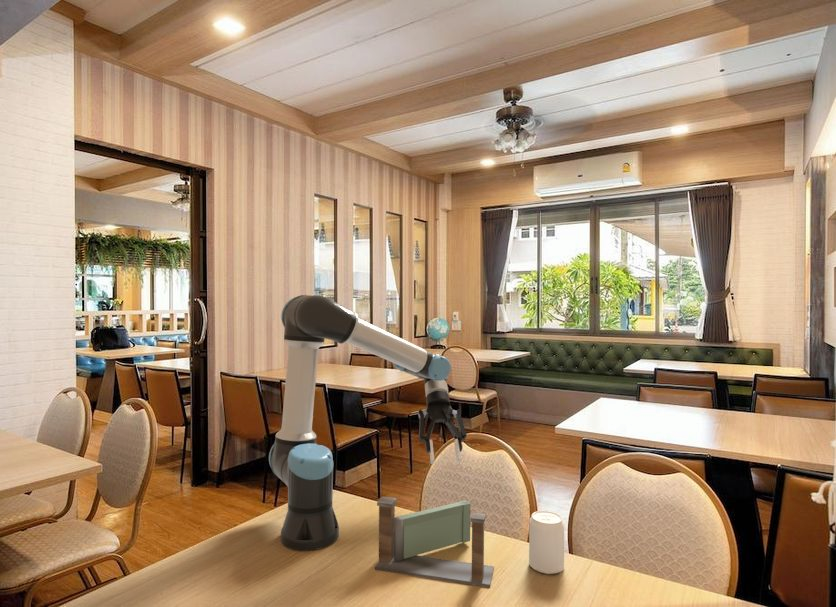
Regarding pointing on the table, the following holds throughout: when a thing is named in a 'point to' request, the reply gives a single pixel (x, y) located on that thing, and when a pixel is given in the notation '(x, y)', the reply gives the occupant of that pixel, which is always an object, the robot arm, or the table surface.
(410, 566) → the gate frame
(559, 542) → the white cylinder
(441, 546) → the gate
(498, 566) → the table surface
